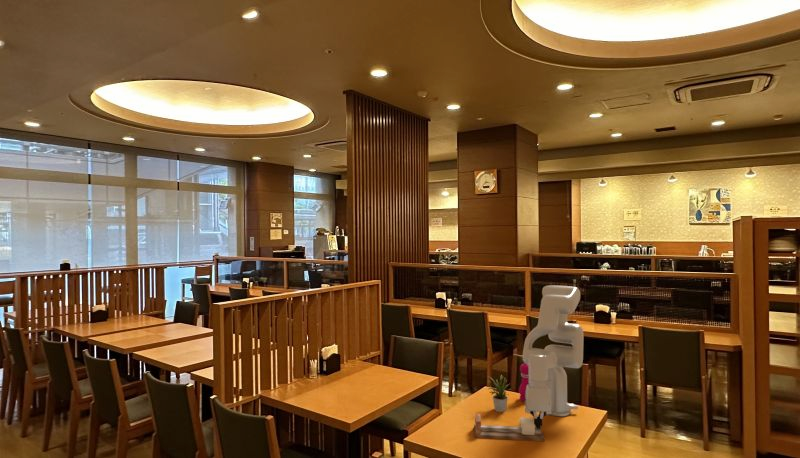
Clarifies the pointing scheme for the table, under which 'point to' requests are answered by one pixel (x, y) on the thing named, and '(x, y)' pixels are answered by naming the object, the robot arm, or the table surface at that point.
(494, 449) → the table surface
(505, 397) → the house plant
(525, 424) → the block
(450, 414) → the table surface
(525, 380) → the pepper mill
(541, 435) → the rail board
